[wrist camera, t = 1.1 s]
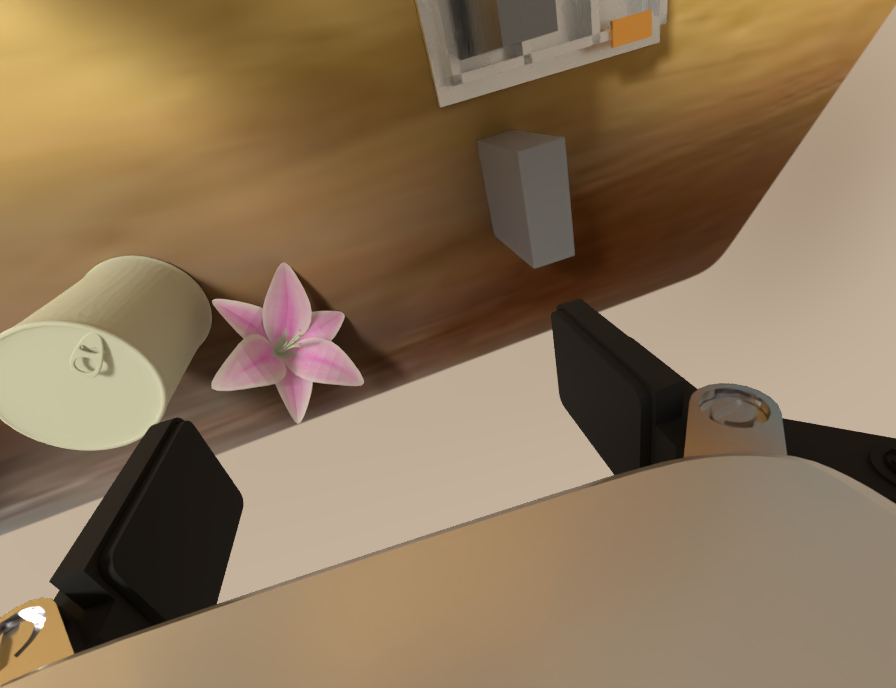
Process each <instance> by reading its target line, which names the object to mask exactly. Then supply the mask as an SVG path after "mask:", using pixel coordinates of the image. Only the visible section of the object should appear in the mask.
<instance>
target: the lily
mask: <svg viewBox="0 0 896 688" xmlns="http://www.w3.org/2000/svg"><path fill="white" fill-rule="evenodd" d="M212 303H213V305H214V307H215V308H216V309H217V310H218V312H219V313H220V314H221V315H222V316H223V317H224V319H225V320H226V321H227V322H228V323H229V324H230V325H231V326H232V327H233V328H234V330H235V331H236V332H237V333H238V334H239V335H240V336H241V337H242V338H243V340H242V341H241V342H240V343H239V344H238V345H237V347H236V348H235V349H234V350H233V352H232V353H231V354H230V355H229V357H228V358H227V359H226V361H225V362H224V363H223V365H222V366H221V367H220V369H219V370H218V372H217V373H216V375H215V377H214V379H213V381H212V389H214V390H217V391H232V390H241V389H248V388H254V387H261V386H267V385H272V384H275V385H276V387H277V389H278V391H279V394H280V396H281V398H282V400H283V402H284V404H285V406H286V408H287V409H288V411H289V413H290V415H291V417H292V418H293V420H294V421H295V422H296V423H297V424H299V423H300V422H301V421H302V419H303V417H304V415H305V412H306V409H307V406H308V403H309V400H310V396H311V391H312V385H313V382H317V383H324V384H335V385H345V386H361V385H363V384H364V379H363V377H362V375H361V373H360V372H359V370H358V369H357V367H356V366H355V365H354V363H353V362H352V361H351V359H350V358H349V357H348V356H347V355H346V353H345V352H344V351H343V350H342V349H341V348H340V347H339V346H337V345H336V344H334V343H333V342H332V339H333V338H334V337H335V335H336V334H337V332H338V331H339V329H340V327H341V325H342V323H343V321H344V318H345V315H344V314H343V313H342V312H339V311H315V312H312V311H311V306H310V302H309V299H308V297H307V295H306V292H305V290H304V288H303V286H302V284H301V283H300V281H299V279H298V277H297V276H296V274H295V273H294V271H293V270H292V269H291V267H290V266H289V265H287V264H285V263H284V262H283V263H281V264H280V265H279V267H278V268H277V270H276V272H275V275H274V277H273V280H272V282H271V285H270V287H269V290H268V292H267V295H266V298H265V301H264V305H263V308H261V307H258V306H255V305H252V304H249V303H244V302H239V301H234V300H227V299H214V300H212Z"/></svg>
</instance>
